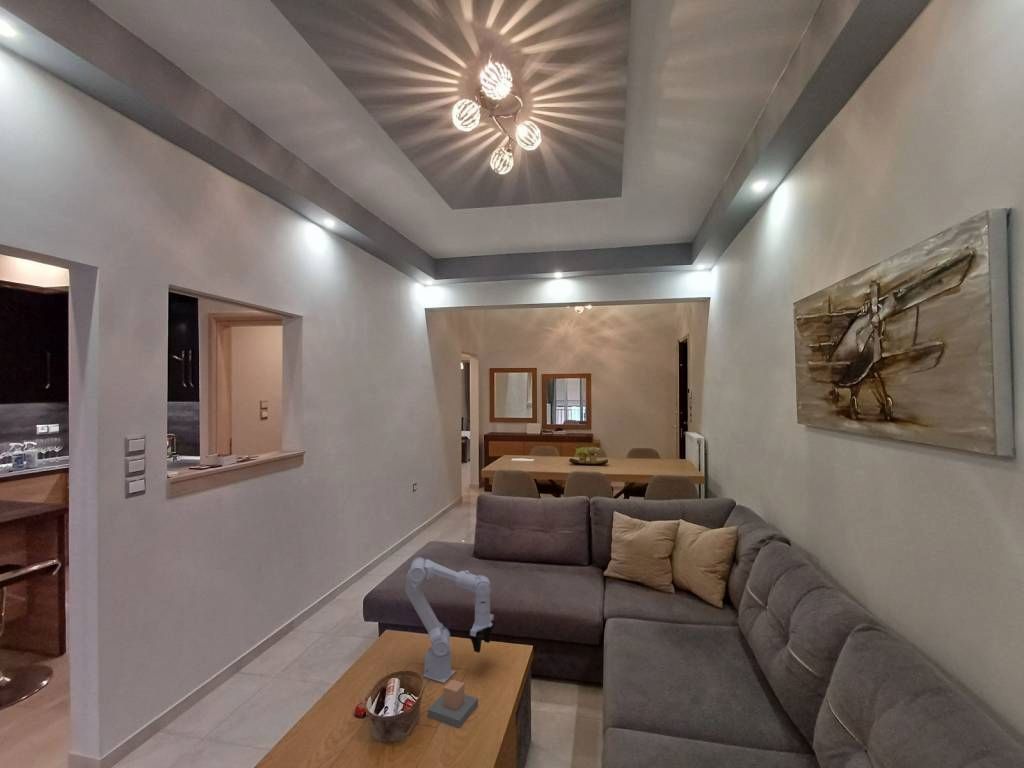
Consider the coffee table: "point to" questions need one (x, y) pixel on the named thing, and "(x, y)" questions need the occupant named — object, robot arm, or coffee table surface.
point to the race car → (361, 709)
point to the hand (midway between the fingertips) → (482, 646)
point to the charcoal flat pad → (453, 711)
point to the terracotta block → (453, 694)
